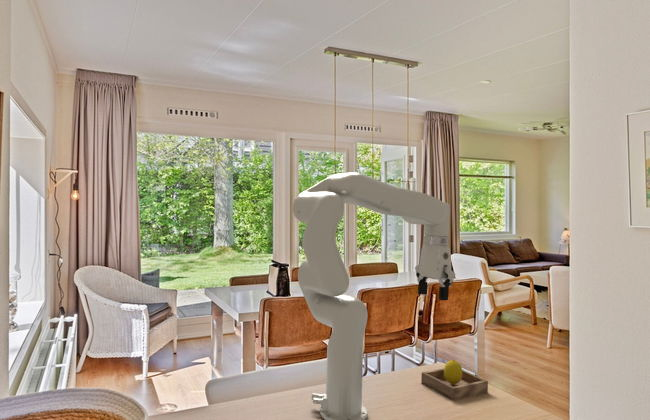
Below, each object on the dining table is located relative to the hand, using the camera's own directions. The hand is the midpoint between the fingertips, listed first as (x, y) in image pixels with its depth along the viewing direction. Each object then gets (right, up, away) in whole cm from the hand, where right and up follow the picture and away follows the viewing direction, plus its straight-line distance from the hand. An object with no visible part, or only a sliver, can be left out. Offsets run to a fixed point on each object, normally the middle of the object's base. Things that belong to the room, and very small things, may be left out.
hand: (432, 297), depth 138 cm
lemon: (+7, -28, +1) cm, 29 cm away
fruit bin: (+7, -28, +1) cm, 29 cm away
